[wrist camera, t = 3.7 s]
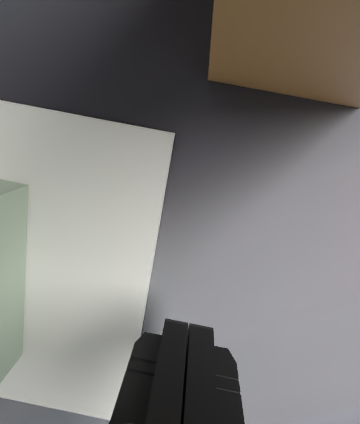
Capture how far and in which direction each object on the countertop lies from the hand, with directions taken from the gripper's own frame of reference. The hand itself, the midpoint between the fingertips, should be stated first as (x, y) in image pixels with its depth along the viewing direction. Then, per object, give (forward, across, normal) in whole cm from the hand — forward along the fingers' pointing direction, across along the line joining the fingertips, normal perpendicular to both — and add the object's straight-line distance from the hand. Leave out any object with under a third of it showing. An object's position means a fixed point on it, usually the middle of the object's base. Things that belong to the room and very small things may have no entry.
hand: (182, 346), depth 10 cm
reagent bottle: (+2, -2, -10) cm, 11 cm away
